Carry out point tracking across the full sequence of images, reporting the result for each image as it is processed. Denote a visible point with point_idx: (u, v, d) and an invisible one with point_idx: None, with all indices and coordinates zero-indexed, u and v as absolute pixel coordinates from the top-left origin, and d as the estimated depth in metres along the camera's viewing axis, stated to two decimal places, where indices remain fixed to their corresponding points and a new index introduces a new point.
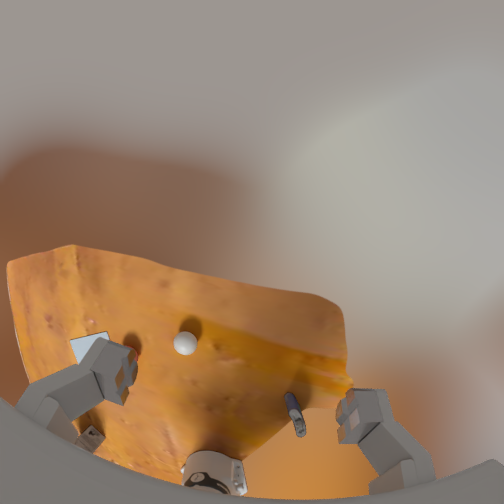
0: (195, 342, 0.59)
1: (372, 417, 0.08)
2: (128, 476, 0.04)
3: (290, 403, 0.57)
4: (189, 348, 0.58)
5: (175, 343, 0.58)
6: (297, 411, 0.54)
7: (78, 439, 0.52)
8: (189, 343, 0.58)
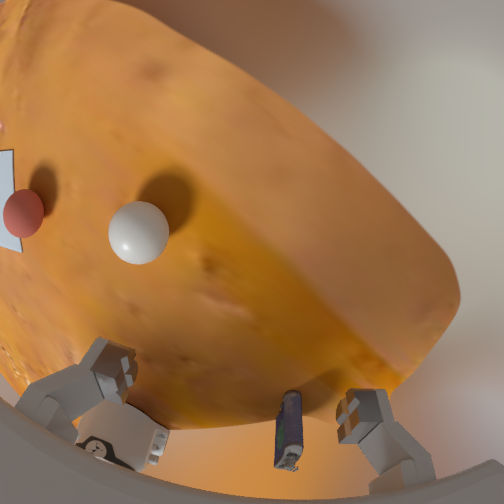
0: (162, 243, 0.22)
1: (372, 418, 0.08)
2: (128, 476, 0.04)
3: (295, 425, 0.29)
4: (140, 255, 0.21)
5: (111, 228, 0.21)
6: (301, 448, 0.27)
7: None
8: (144, 243, 0.21)
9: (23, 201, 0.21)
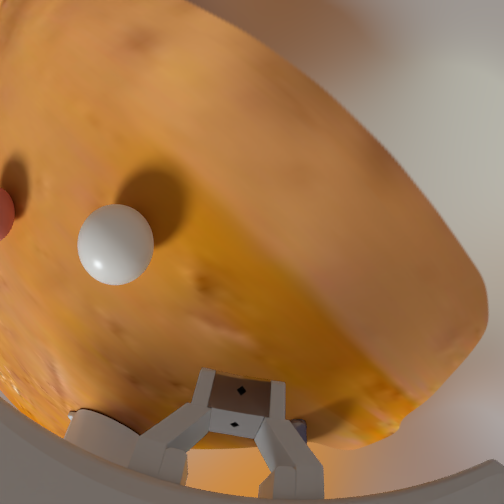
0: (143, 260, 0.17)
1: (258, 410, 0.08)
2: (128, 476, 0.04)
3: None
4: (115, 275, 0.16)
5: (80, 239, 0.15)
6: None
7: None
8: (120, 262, 0.15)
9: None
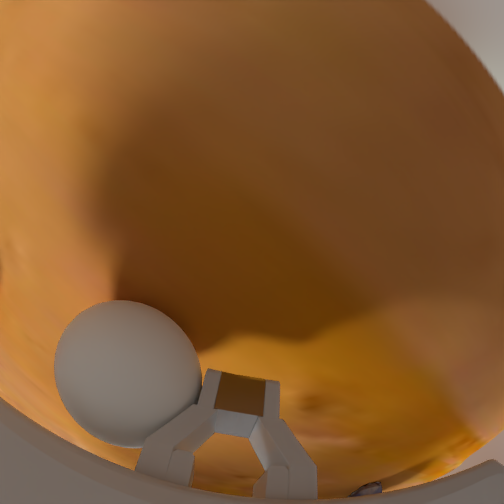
0: None
1: (252, 409, 0.08)
2: (128, 476, 0.04)
3: None
4: (121, 446, 0.06)
5: (55, 367, 0.07)
6: None
7: None
8: (123, 436, 0.06)
9: None
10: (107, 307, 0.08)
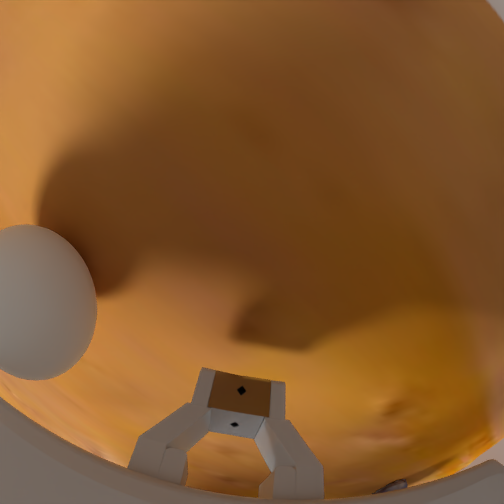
0: None
1: (259, 410, 0.08)
2: (128, 476, 0.04)
3: None
4: None
5: (94, 301, 0.08)
6: None
7: None
8: None
9: None
10: (39, 232, 0.07)
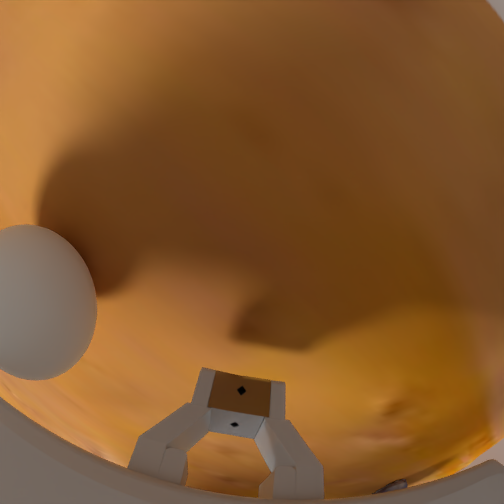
0: None
1: (258, 410, 0.08)
2: (128, 476, 0.04)
3: None
4: None
5: (94, 301, 0.08)
6: None
7: None
8: None
9: None
10: (39, 232, 0.07)
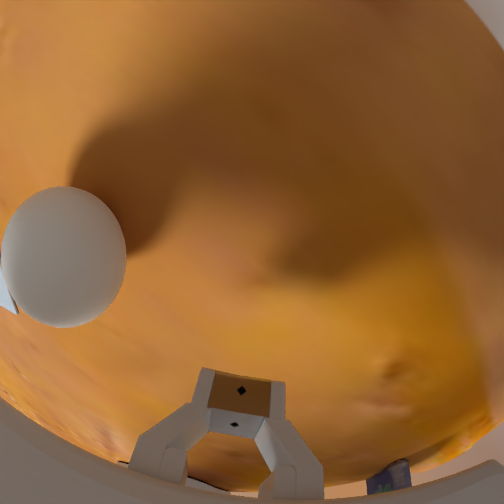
0: None
1: (258, 410, 0.08)
2: (128, 476, 0.04)
3: None
4: None
5: (125, 254, 0.10)
6: None
7: None
8: None
9: None
10: (79, 191, 0.08)
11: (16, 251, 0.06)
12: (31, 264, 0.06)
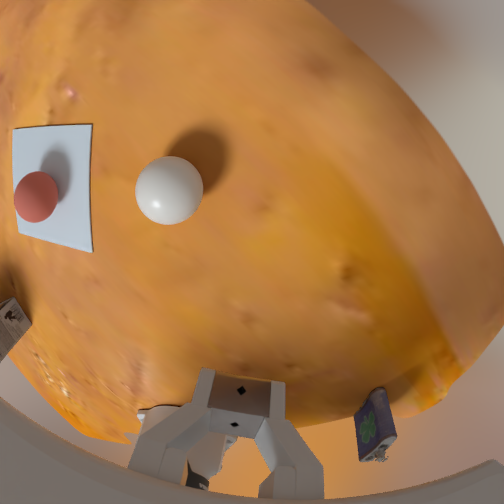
0: None
1: (258, 411, 0.08)
2: (128, 476, 0.04)
3: (389, 419, 0.28)
4: None
5: None
6: (394, 439, 0.26)
7: None
8: None
9: None
10: (183, 159, 0.21)
11: (159, 178, 0.18)
12: (168, 183, 0.19)
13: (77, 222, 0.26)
